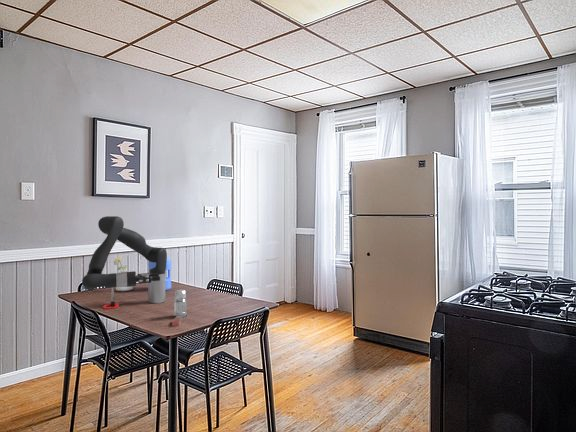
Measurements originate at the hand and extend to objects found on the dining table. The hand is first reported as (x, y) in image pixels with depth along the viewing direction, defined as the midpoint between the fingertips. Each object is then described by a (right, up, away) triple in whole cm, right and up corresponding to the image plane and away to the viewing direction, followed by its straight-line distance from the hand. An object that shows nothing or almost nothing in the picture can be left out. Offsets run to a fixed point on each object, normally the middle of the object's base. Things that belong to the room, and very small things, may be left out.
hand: (159, 276), depth 218 cm
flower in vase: (-46, -20, +70) cm, 86 cm away
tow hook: (-35, -21, +22) cm, 47 cm away
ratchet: (+11, -22, -4) cm, 25 cm away
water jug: (-23, -20, +76) cm, 82 cm away
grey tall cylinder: (+10, -19, +3) cm, 22 cm away
